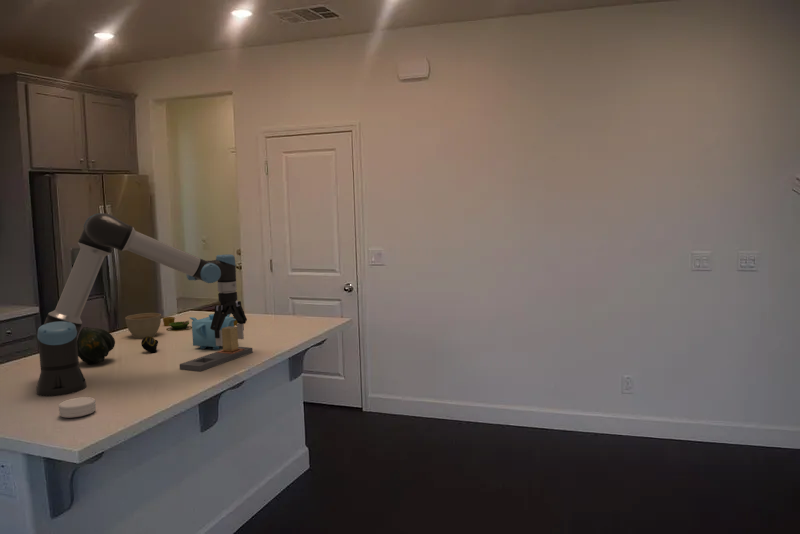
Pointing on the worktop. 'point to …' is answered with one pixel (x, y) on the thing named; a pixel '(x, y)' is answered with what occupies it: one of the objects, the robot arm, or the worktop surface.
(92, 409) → the white round disc
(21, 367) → the worktop surface
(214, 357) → the dark grey flat board
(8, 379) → the worktop surface
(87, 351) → the squash
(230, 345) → the wooden peg
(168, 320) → the tableware set
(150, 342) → the tape measure
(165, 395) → the worktop surface
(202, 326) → the teakettle
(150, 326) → the planter bowl
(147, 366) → the worktop surface
